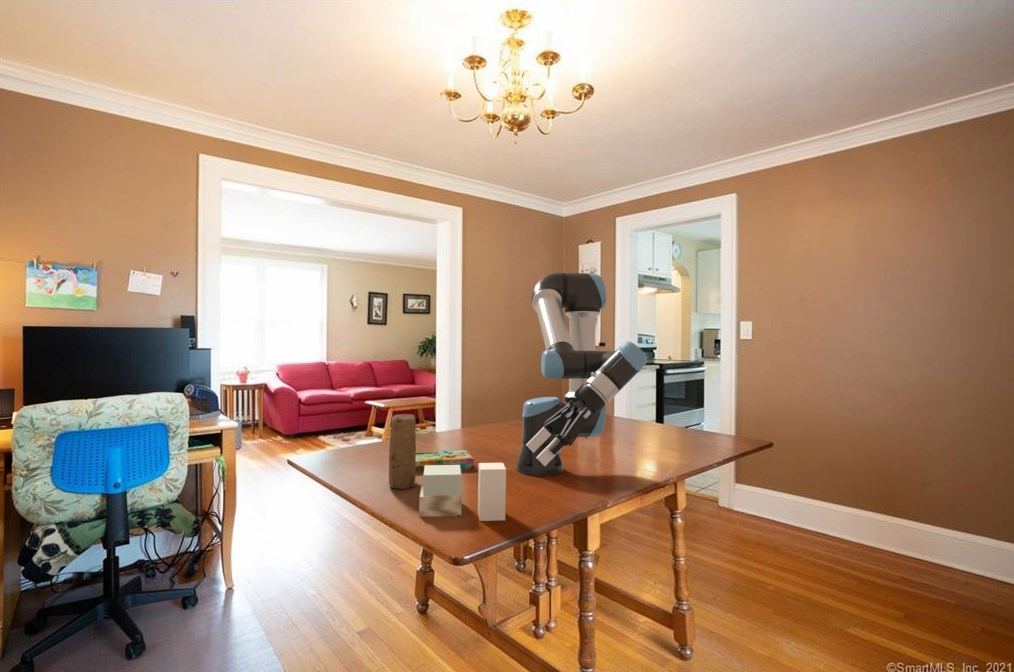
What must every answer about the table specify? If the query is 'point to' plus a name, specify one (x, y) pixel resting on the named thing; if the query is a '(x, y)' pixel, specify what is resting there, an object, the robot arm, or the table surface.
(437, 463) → the puzzle game
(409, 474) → the block
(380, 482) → the table surface
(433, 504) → the tower base
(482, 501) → the cream block
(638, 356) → the robot arm
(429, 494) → the tower top
